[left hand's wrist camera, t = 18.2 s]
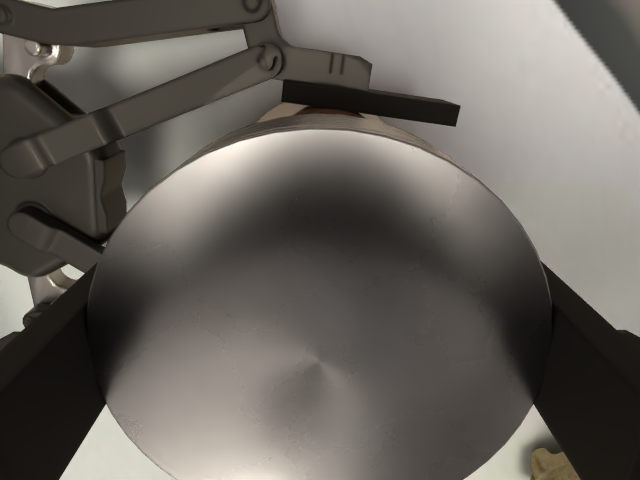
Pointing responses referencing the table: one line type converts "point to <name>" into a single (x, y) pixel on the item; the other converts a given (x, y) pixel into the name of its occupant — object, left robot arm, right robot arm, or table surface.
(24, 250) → the right robot arm
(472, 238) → the lid
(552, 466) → the sculpture
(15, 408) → the left robot arm
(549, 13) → the table surface
